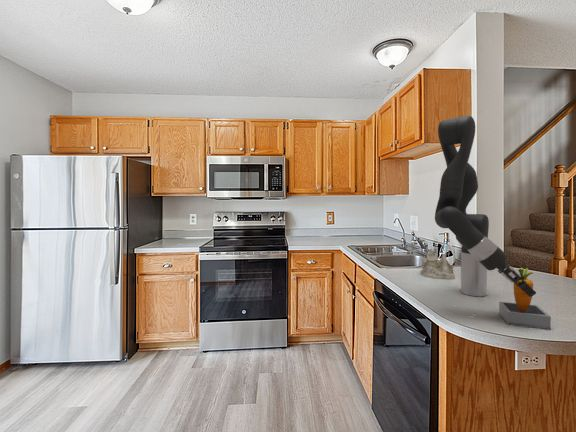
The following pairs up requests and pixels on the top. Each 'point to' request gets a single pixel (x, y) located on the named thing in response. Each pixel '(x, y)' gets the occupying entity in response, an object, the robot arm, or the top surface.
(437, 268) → the ceramic cottage
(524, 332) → the top surface
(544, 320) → the bin
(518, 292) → the carrot
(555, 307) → the top surface
